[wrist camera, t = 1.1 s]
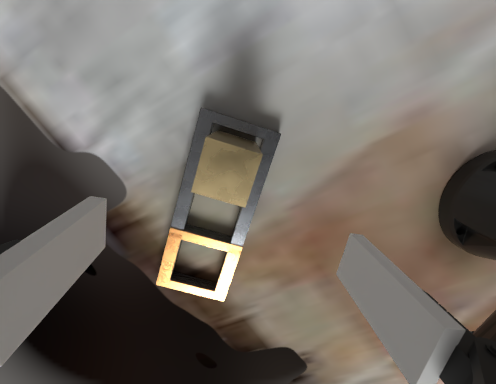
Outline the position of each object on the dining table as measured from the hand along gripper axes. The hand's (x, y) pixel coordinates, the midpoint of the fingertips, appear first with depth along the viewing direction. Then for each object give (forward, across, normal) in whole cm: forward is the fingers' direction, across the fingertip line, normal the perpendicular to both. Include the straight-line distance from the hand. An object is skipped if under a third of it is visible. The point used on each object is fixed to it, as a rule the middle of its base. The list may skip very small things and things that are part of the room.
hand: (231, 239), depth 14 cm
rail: (+21, +1, +7) cm, 22 cm away
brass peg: (+21, 0, -1) cm, 21 cm away
